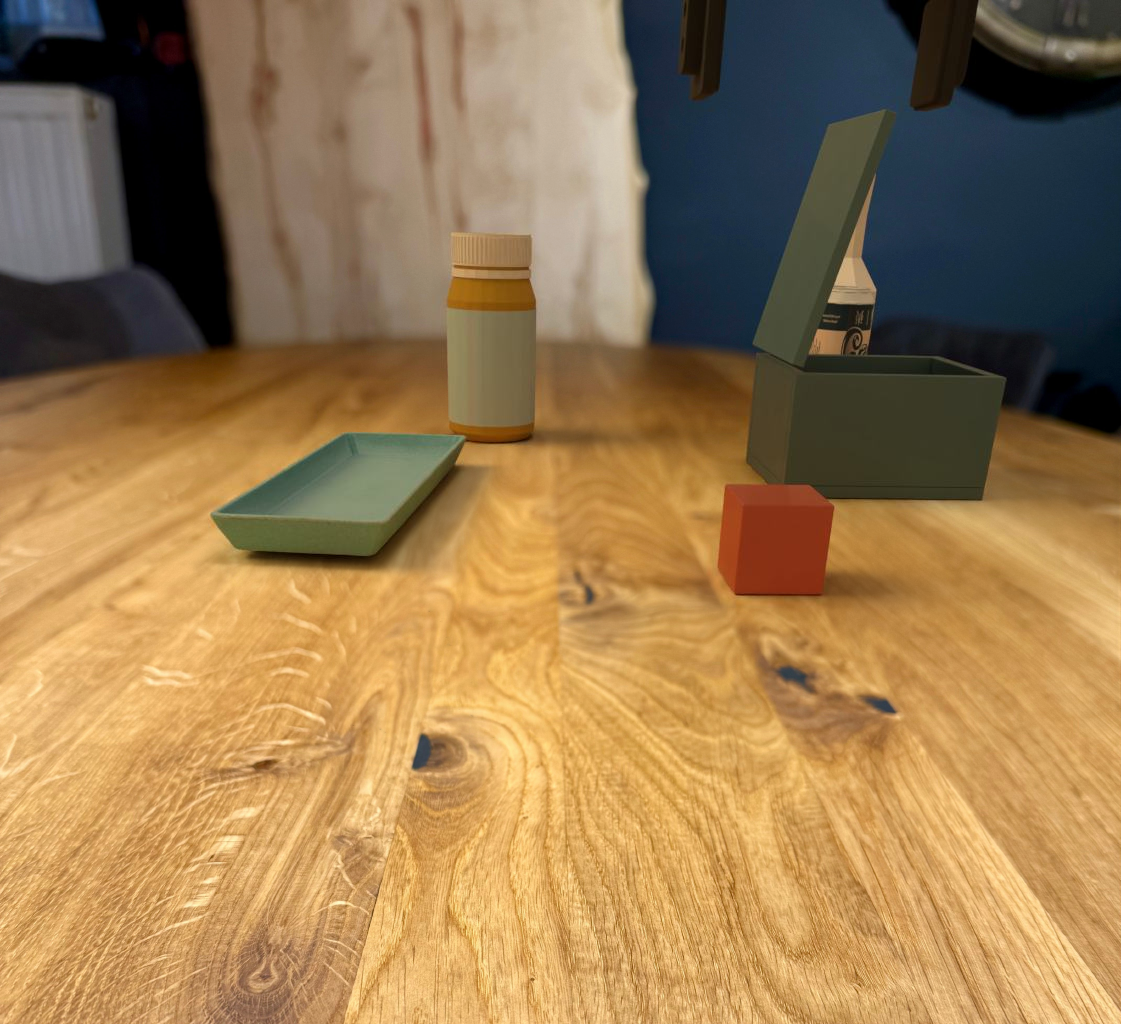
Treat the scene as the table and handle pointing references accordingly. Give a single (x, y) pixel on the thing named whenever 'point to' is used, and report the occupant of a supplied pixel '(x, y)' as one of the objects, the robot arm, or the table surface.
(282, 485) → the teal serving tray
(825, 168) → the lid
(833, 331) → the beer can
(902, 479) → the chest
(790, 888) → the table surface
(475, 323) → the bottle
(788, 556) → the block
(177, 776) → the table surface
